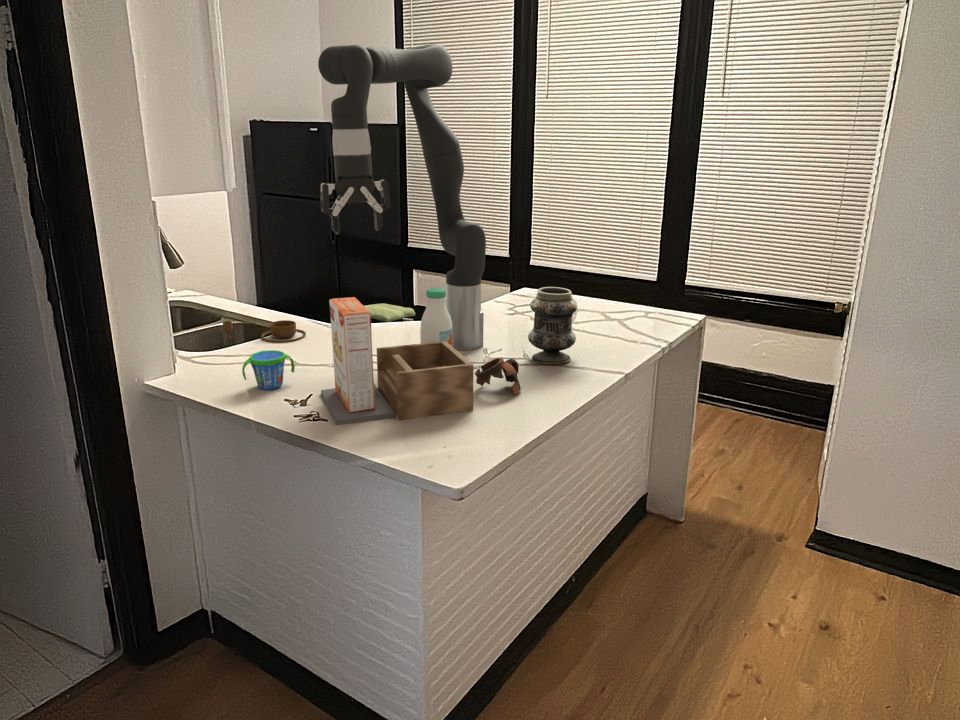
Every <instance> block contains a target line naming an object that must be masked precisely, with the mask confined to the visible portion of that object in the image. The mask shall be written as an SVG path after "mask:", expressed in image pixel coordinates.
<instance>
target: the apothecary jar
mask: <svg viewBox="0 0 960 720" xmlns="http://www.w3.org/2000/svg"><path fill="white" fill-rule="evenodd" d="M572 294H573V293H572V291H571V290H570V289H568V288H566V287H565V288H564V287H558V286H545V287H539V288H538V289H537V293H536V296H535V297H533V298H532V299H531V301H530V304H529V306H530V309H531V310H532V311H533V313H534V318H533V319H534V320H533V327H532V329H530V331H529V333H528V335H527V336H528V337H527V339H528V342H529V343H530V344H531V345H532V346H533V347H534V348H537V349H539V350H542V351H539V352H536V353H534V354H533V355H532V356H531V359H532V360H533V361H534V362H536V363H539V364H542V365H554V366H555V365H563V364H567V363H569V362H570V361H571V356H570V355H569V354H567V353H565V352H563V351H564V350H567V349H570V348H572V346H574V344H575V343H576V340H577V337H576V334H575V333H574V331H573V329H572V327H573V324H572V322H573V314H574V313H576V312H577V310H578V302H577V301H576V299H574V298H573V295H572Z"/></svg>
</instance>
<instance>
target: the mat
mask: <svg viewBox="0 0 960 720" xmlns="http://www.w3.org/2000/svg"><path fill="white" fill-rule="evenodd" d="M320 394H321V397H322V399H323V401H324V403H325V405H326V408H327V409H328V411H329V414H330V415H331V417H332V420H333V422H334V424H335V425H343V424H351V423H358V422H359V423H360V422H366V421H372V420H374V421H375V420H380V419H381V420H382V419H387V418H388V419H390V418H395V417H396V415H395V412H394V410H393V409H392V408H391V406H390V405H389V403H388V402H387V401H386V399H385V398H384V396H383V395H382V394H381V392H380V391H379V389H378V385H376V384H375V383H374V395H375V409H372V410H365V411H358V412H352V413H349V412H348V410H347V409H346V407H345V405H344V403H343V402H342V400H341V398H340V396H339V395H338V393H337V391H336V389H335V387H334V388H327V389H325V388H324V389H320Z"/></svg>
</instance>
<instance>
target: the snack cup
mask: <svg viewBox="0 0 960 720" xmlns="http://www.w3.org/2000/svg"><path fill="white" fill-rule="evenodd" d="M287 358H288V359H290V365H291V373H293V374H294V373H295V369H296V368H295V367H296V366H295V362H294V360H293V358H292V357H291V355H289V354H287V353H285V352H284V351H281V350H271V349H270V350H262V351H258V352H254V353H252V354H251V355H250V356H249V358H248V359H246V360H245V361H244V363H243V365H242V370H241V373H242V377H243V379H244V380H245V381H247V376H246V373H245V369H246V367H247V366H248V364H250V365H251V368H252V369H253V373H254V378H255V381H256V384H257V387H258V388H259V389H262V390H267V391H268V390H275V389H280V387H282V385H283V382H284V374H285V373H284V370H285V363H286V362H285V361H286V359H287Z"/></svg>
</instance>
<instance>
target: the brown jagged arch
mask: <svg viewBox="0 0 960 720" xmlns="http://www.w3.org/2000/svg"><path fill="white" fill-rule="evenodd" d="M518 373H519V363H518V361H517V360H516V359H514V358H508V359H507V360H504V358H503V357H496V358H493V359H491V360H488V362H486V363H484V364H482V365H481V366H480V368H478V369H477V370H475V372H474V375H475V376H476V381H475V382H476V384H477V385H479V386H481V387H484V385H485V384H487V385H491V378H492V377H493V378H498V379H503V378H504V377H505V381H506V382H508V383H513V384H512V385H511V386H510V389H511V390H512V394H513V396H515V395H517V394H518V393H519V392H520V391H521V389H522V388H521V384H520V382H519V378H518Z"/></svg>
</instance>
